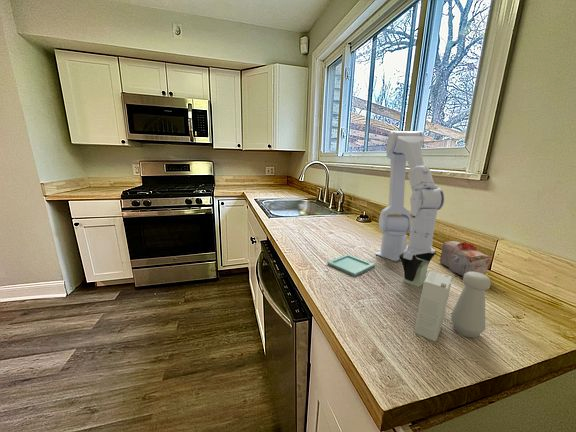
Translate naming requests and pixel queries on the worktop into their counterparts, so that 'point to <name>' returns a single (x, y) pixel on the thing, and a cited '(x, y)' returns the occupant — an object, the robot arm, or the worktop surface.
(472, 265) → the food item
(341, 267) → the tray
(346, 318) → the worktop surface
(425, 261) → the tea tin
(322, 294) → the worktop surface
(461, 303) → the salt shaker
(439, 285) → the skincare box
